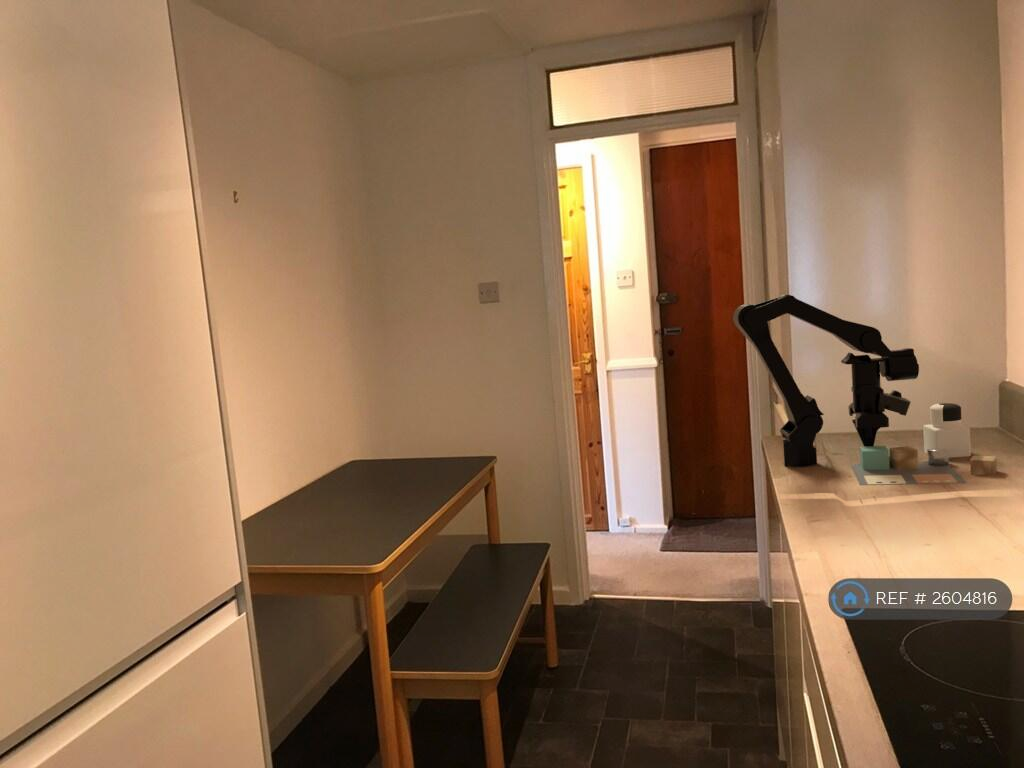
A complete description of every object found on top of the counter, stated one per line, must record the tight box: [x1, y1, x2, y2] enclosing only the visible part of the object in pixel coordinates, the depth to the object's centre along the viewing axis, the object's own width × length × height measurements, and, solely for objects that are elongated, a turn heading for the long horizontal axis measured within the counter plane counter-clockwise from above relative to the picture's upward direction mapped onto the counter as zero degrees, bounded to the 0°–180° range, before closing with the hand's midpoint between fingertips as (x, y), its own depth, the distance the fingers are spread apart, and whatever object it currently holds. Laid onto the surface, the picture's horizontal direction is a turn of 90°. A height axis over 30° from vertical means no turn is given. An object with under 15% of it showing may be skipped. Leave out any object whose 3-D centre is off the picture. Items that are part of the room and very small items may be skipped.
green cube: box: [859, 445, 890, 470], centre depth 177 cm, size 5×5×4 cm
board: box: [850, 461, 968, 486], centre depth 170 cm, size 19×18×1 cm
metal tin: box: [926, 448, 950, 466], centre depth 175 cm, size 4×4×3 cm
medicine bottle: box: [922, 402, 972, 459], centre depth 183 cm, size 7×7×12 cm
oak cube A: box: [888, 445, 919, 471], centre depth 174 cm, size 4×4×4 cm
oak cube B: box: [970, 455, 998, 477], centre depth 165 cm, size 4×4×4 cm
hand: (869, 452), depth 185 cm, fingers closed
